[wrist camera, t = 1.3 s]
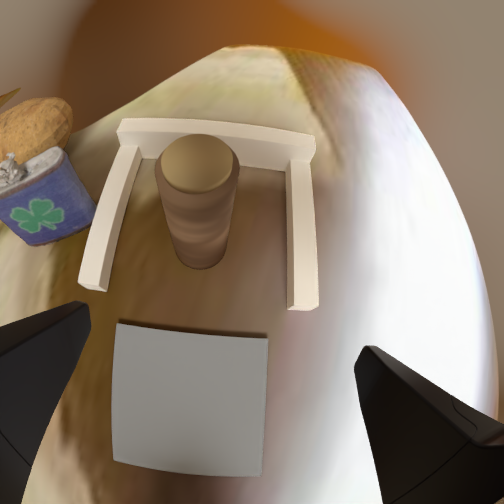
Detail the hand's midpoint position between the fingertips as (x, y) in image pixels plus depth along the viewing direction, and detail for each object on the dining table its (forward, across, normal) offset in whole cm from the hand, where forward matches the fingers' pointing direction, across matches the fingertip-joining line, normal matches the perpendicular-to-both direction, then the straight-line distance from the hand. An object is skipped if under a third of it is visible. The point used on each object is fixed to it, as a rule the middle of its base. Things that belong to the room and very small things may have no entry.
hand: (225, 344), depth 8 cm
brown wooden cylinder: (+16, +3, +2) cm, 16 cm away
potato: (+21, +26, -3) cm, 33 cm away
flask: (+15, +17, +3) cm, 23 cm away
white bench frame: (+17, +3, 0) cm, 18 cm away
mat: (+7, +2, +12) cm, 14 cm away
